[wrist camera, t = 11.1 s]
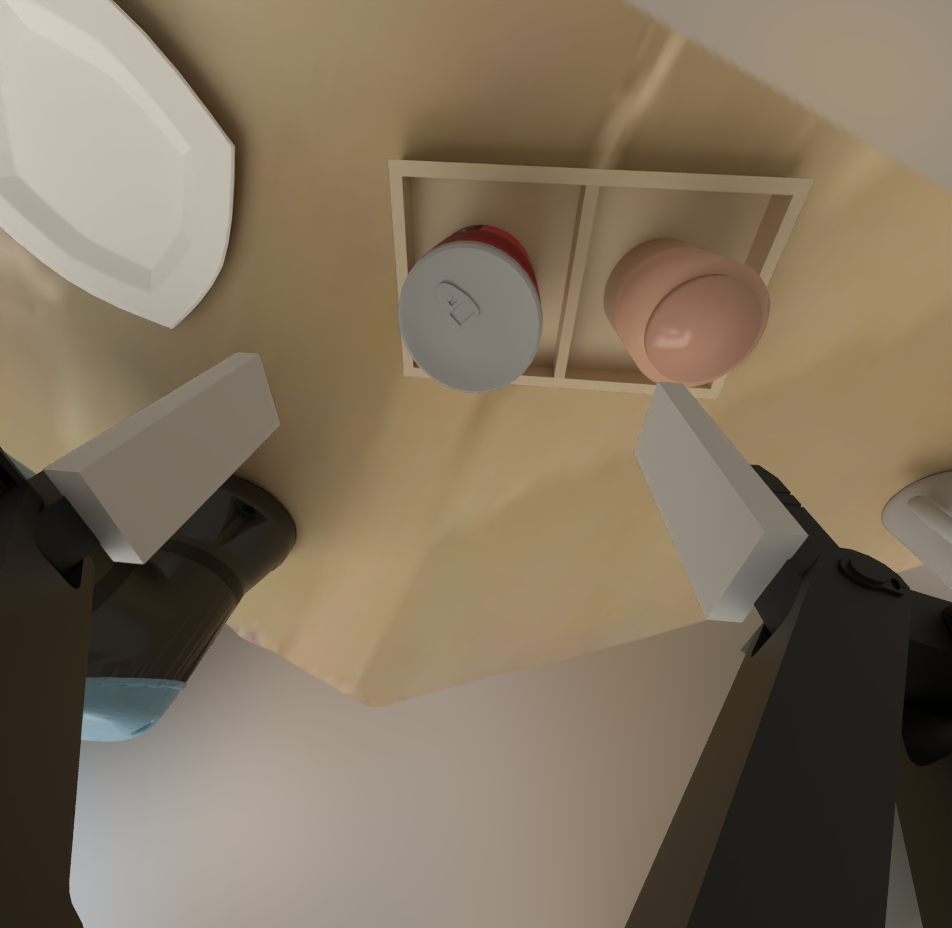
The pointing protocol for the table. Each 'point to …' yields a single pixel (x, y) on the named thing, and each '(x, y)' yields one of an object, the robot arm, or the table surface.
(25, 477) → the robot arm
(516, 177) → the divided tray
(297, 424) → the table surface
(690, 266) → the jar
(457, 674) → the table surface
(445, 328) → the canned food
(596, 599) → the table surface
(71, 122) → the plate
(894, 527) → the mug
